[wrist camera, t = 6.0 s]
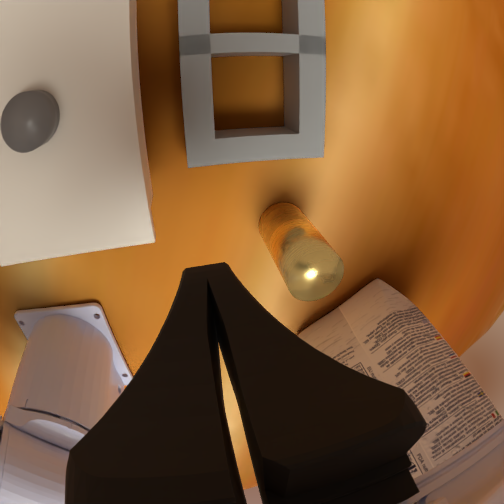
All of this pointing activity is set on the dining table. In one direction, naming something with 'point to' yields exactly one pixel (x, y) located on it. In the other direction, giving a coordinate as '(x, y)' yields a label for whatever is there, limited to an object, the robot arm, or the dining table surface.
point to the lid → (71, 130)
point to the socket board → (295, 85)
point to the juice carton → (408, 368)
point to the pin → (300, 252)
